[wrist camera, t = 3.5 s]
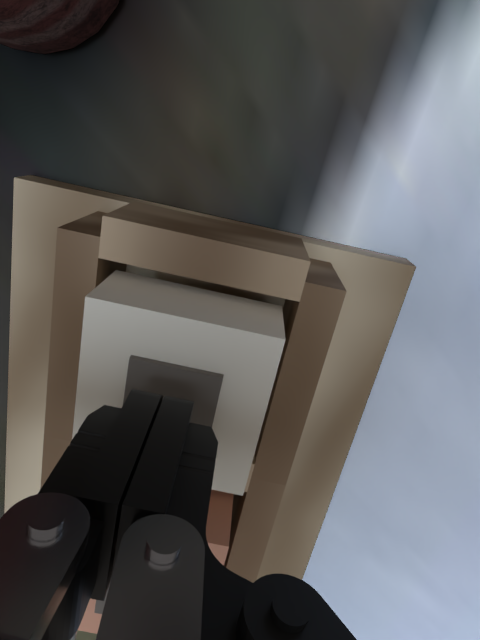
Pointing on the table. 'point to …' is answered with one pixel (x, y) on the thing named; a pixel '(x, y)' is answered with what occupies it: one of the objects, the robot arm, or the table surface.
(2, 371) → the table surface
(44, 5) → the can
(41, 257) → the keypad board
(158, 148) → the table surface
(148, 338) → the cream key
